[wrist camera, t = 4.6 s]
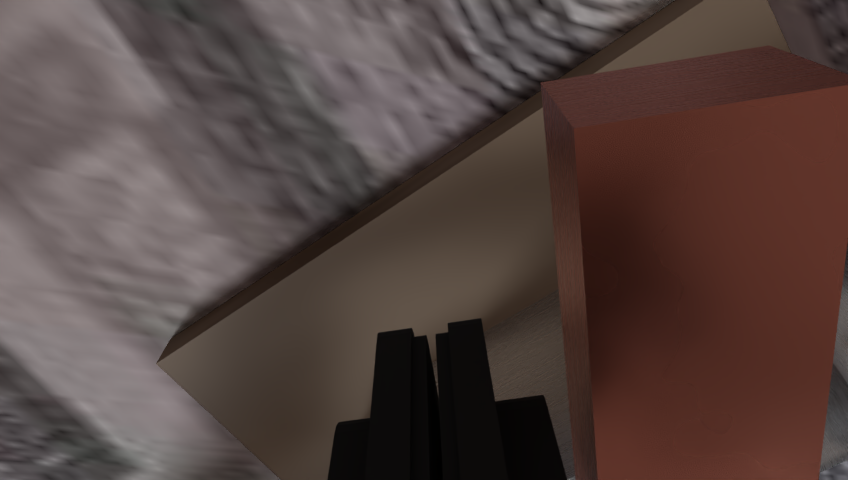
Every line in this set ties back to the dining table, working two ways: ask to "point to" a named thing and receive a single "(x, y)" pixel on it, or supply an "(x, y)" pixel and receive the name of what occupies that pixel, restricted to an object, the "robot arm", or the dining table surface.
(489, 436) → the robot arm
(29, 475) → the dining table surface
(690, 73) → the lever
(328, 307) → the walnut board
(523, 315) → the valve body
